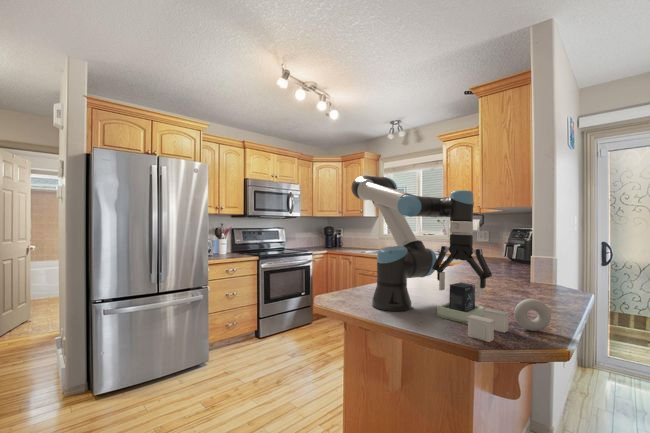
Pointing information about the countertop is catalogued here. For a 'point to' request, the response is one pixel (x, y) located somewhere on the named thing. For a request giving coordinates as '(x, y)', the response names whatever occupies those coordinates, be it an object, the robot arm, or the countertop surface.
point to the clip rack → (487, 324)
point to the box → (462, 297)
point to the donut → (537, 323)
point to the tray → (458, 313)
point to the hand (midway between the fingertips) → (459, 293)
